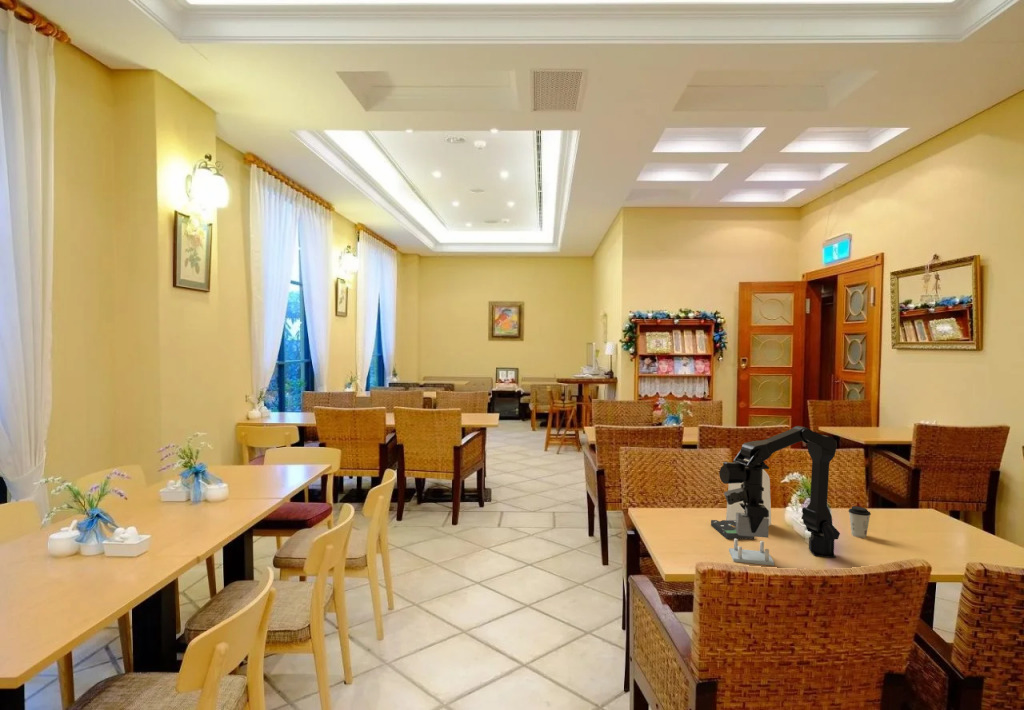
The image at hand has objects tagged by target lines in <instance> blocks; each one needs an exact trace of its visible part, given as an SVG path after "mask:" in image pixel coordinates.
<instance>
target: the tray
mask: <svg viewBox="0 0 1024 710" xmlns="http://www.w3.org/2000/svg"><path fill="white" fill-rule="evenodd" d="M728 552H729V554H730V556H731V559H732V561H733V562H736V563H744V564H745V563H746V564H756V565H767V566H775V561H774V560H773V558H772V556H771V555H770V549H768V548H765V542H764V540H760V541H759V550H754V549H753V550H752V549H743V546H739V539H733V548H732V547H731V548H730V547H728Z"/></svg>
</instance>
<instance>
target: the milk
mask: <svg viewBox="0 0 1024 710" xmlns="http://www.w3.org/2000/svg"><path fill="white" fill-rule="evenodd" d="M744 460H746V459H744ZM746 461H749V460H746ZM741 484H742V483H732V484H728V486H727V487H728V489H727V491H730V490H733V489H738V488H741ZM762 487H763V488H764V491H762V499H763V501H764V504H760V505H764V506H765V507H766V508H767V509H768V511H769V517H768V519H769V526H771V525H772V509H771V508H772V507H771V506H772V505H771V502H772V501H771V479H770V476H769V474H768V472H767V471H766V469H763V476H762ZM740 503H742V501H741V502H737V503H734V504H732V505H729V504H728V502H727V501H726V513H725V514H726V516H725V520H736V513H745V512H744V511H745V510H744V509H743V508H742V507H741V506H740Z"/></svg>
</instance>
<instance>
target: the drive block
mask: <svg viewBox="0 0 1024 710" xmlns="http://www.w3.org/2000/svg"><path fill="white" fill-rule="evenodd" d="M769 526H770V525H769V519H768V517H764V518H763V520H762V522H761V523H760V525H759V527H758V529H757V531H756V533H752V532H751V527H750V520H749V517H748V516H747V515H746V514H745V513H736V532H737V534H738V535H742V536H753V537H755V538H765V539H766V538H769Z"/></svg>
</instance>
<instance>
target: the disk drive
mask: <svg viewBox="0 0 1024 710" xmlns="http://www.w3.org/2000/svg"><path fill="white" fill-rule="evenodd" d="M710 526H711V527H712V528H713V529H714V530H715V531H717V532H718V533H719V534H720V535H721V536H722V537H723V538H725V540H734V539H738V540H755V538H756V537H753V536H742V535H738V534H737V532H736V520H726V519H722V520H717V519H711V520H710Z"/></svg>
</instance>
